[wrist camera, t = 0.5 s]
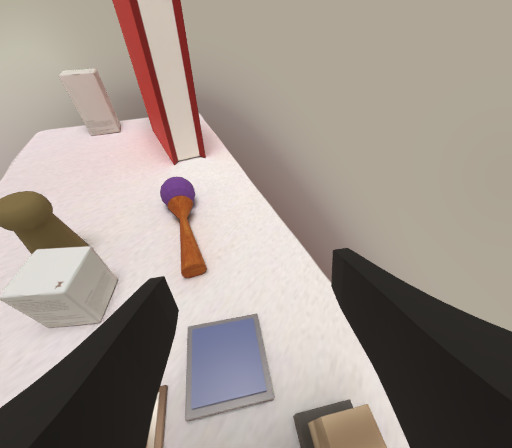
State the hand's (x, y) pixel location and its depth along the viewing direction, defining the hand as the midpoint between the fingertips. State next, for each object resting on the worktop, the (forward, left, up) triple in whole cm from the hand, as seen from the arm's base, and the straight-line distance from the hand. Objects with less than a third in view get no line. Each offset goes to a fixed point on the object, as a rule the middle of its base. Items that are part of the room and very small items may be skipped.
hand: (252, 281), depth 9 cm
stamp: (-6, -6, -18) cm, 20 cm away
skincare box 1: (+12, +19, -18) cm, 29 cm away
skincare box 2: (+72, +33, -18) cm, 81 cm away
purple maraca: (+23, +7, -19) cm, 30 cm away
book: (+60, +11, -18) cm, 64 cm away
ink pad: (+2, +2, -18) cm, 18 cm away
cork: (+20, +24, -18) cm, 36 cm away
